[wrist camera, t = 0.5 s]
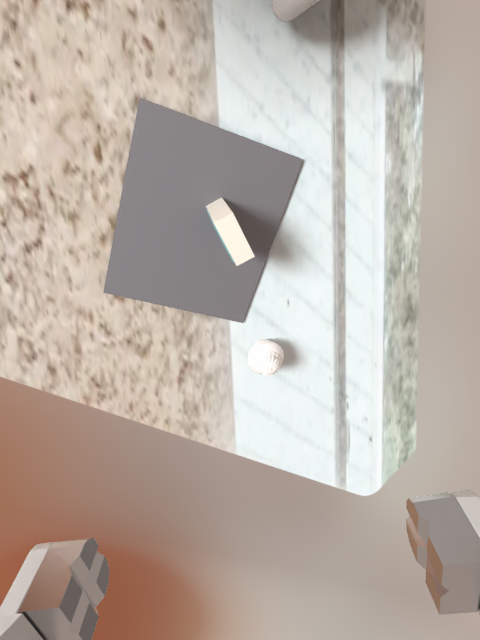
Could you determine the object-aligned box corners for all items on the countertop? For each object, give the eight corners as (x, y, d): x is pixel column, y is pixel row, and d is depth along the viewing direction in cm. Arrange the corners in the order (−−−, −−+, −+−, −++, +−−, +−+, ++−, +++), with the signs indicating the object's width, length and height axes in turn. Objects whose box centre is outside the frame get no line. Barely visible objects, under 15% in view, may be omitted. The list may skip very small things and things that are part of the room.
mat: (139, 98, 44) (139, 97, 43) (301, 159, 50) (303, 159, 50) (104, 291, 54) (103, 292, 54) (242, 321, 61) (242, 322, 60)
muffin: (237, 354, 64) (244, 378, 58) (255, 326, 62) (265, 348, 56) (266, 365, 66) (276, 390, 60) (285, 339, 64) (297, 362, 58)
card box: (204, 206, 51) (212, 223, 42) (221, 197, 50) (232, 212, 42) (224, 243, 54) (235, 267, 45) (240, 234, 53) (254, 256, 45)
